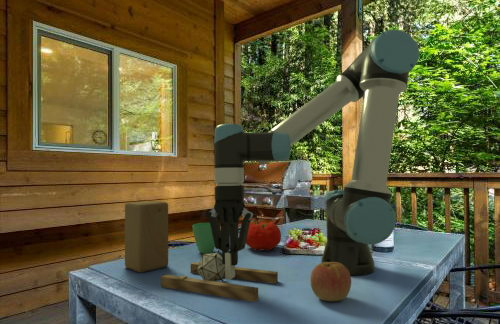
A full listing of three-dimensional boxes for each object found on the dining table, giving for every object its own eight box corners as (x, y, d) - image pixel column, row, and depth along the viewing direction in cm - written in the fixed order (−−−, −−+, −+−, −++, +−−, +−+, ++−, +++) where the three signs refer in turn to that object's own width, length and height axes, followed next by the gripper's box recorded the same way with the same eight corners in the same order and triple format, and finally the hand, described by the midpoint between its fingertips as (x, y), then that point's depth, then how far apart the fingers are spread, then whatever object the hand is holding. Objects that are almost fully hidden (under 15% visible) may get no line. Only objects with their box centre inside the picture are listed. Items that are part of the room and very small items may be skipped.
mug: (223, 253, 117) (223, 225, 117) (196, 256, 113) (196, 227, 113) (210, 245, 130) (210, 220, 130) (186, 248, 126) (186, 222, 126)
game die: (218, 298, 84) (226, 273, 79) (187, 286, 84) (194, 261, 79) (227, 272, 91) (236, 248, 86) (199, 261, 92) (206, 236, 87)
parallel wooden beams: (281, 278, 88) (281, 261, 88) (254, 302, 72) (254, 281, 72) (200, 267, 99) (200, 253, 99) (160, 286, 83) (160, 269, 83)
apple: (357, 306, 69) (356, 267, 69) (316, 307, 68) (315, 269, 69) (342, 291, 78) (341, 257, 78) (306, 293, 77) (305, 258, 77)
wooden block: (169, 266, 101) (169, 201, 102) (139, 274, 94) (139, 204, 94) (152, 261, 108) (152, 200, 108) (123, 267, 100) (123, 202, 101)
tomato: (249, 255, 114) (248, 226, 114) (239, 245, 130) (239, 220, 130) (288, 252, 117) (287, 224, 118) (274, 243, 133) (273, 219, 133)
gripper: (258, 184, 85) (259, 276, 84) (214, 184, 90) (215, 271, 89) (246, 185, 78) (247, 285, 77) (199, 185, 83) (200, 279, 82)
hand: (230, 277), depth 83 cm, fingers closed
